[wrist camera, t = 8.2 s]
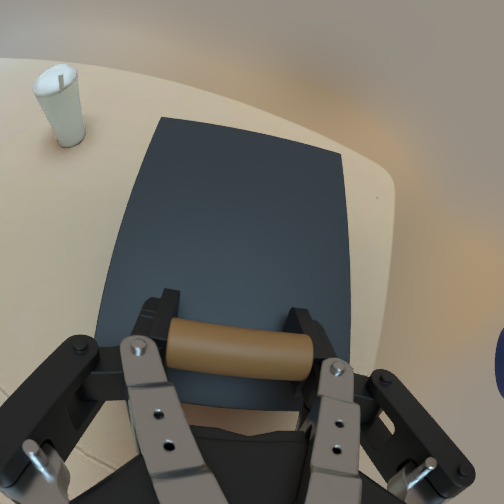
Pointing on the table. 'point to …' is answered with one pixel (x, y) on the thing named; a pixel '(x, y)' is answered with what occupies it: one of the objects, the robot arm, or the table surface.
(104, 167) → the table surface
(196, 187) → the lid
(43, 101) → the milkshake
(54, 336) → the table surface
